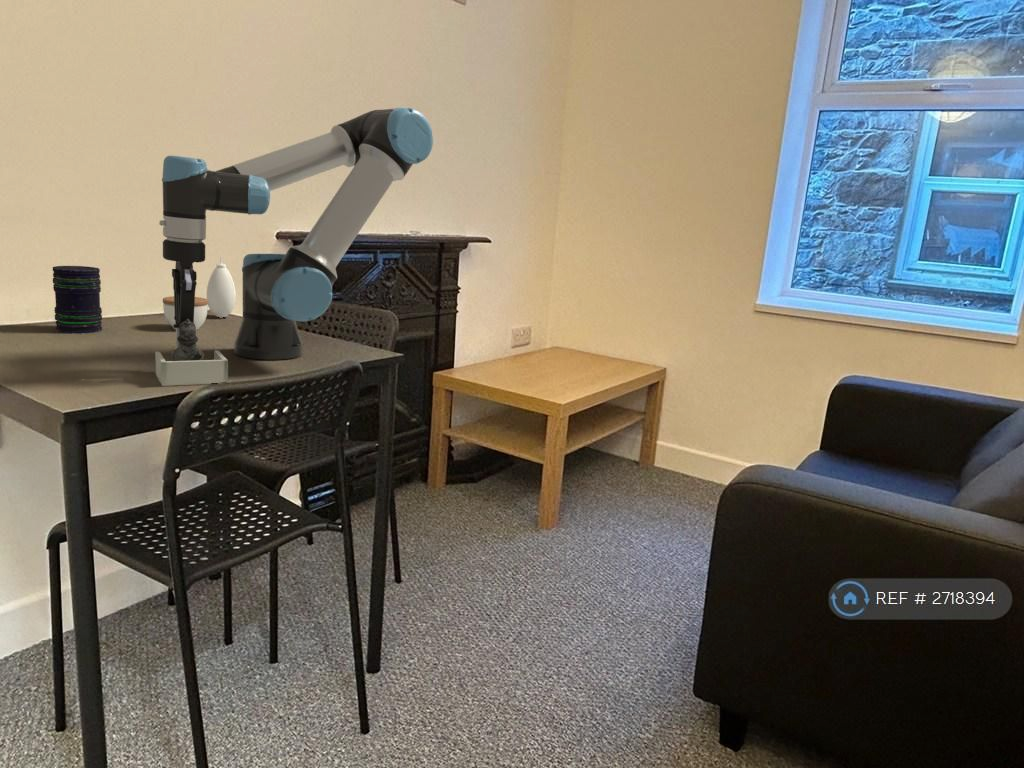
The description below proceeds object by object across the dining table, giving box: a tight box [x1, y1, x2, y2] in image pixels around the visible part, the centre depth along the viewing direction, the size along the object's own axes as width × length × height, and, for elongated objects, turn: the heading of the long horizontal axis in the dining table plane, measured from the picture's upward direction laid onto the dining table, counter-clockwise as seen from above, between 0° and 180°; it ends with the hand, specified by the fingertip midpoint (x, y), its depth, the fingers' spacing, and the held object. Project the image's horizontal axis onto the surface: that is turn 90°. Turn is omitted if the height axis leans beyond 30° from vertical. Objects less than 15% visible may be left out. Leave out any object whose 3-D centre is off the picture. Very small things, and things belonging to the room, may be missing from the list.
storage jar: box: [52, 265, 103, 335], centre depth 173 cm, size 10×10×15 cm
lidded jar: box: [162, 295, 209, 331], centre depth 188 cm, size 11×11×9 cm
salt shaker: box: [170, 319, 205, 361], centre depth 140 cm, size 6×6×12 cm
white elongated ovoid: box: [206, 255, 237, 319], centre depth 207 cm, size 8×8×18 cm
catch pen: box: [154, 350, 229, 387], centre depth 140 cm, size 12×9×4 cm
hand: (183, 358), depth 144 cm, fingers closed
